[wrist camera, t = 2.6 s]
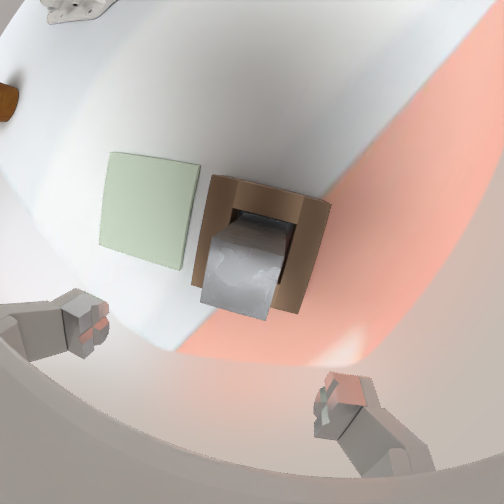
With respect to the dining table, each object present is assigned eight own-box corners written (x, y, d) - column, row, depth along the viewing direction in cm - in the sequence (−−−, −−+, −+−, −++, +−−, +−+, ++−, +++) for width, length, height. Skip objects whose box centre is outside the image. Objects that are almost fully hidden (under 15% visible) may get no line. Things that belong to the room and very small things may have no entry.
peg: (237, 251, 27) (199, 302, 16) (246, 212, 26) (211, 237, 15) (276, 261, 27) (265, 320, 15) (286, 222, 26) (284, 256, 14)
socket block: (203, 271, 28) (191, 284, 24) (223, 175, 25) (212, 174, 22) (297, 296, 28) (297, 314, 24) (325, 201, 25) (331, 204, 21)
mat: (102, 243, 29) (99, 244, 29) (113, 152, 26) (110, 151, 26) (181, 269, 29) (179, 270, 28) (200, 165, 26) (198, 165, 25)
